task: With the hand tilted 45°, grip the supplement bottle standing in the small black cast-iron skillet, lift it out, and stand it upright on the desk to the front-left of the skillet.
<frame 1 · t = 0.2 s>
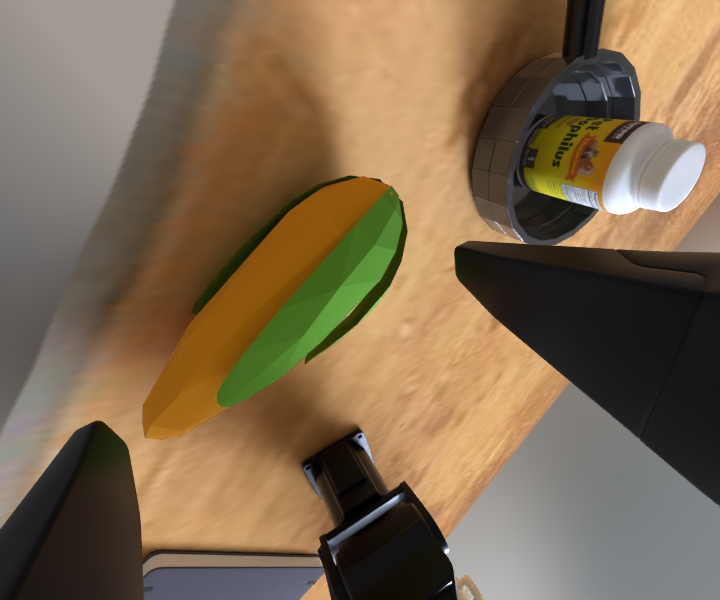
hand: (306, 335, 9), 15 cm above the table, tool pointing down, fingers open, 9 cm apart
character mug: (406, 541, 53), on the table
skillet: (533, 152, 29), on the table
supplement bottle: (535, 152, 29), resting on skillet
notebook: (214, 594, 37), on the table
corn: (259, 290, 24), on the table
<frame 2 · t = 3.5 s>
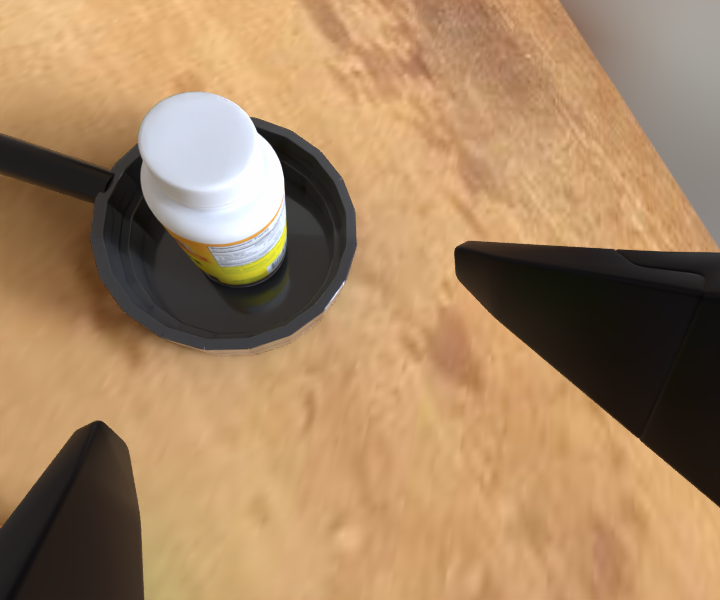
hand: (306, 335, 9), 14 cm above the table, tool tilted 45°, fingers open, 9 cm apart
skillet handle: (18, 159, 19), point 2 cm above the table
skillet: (242, 249, 23), on the table
supplement bottle: (241, 248, 22), resting on skillet
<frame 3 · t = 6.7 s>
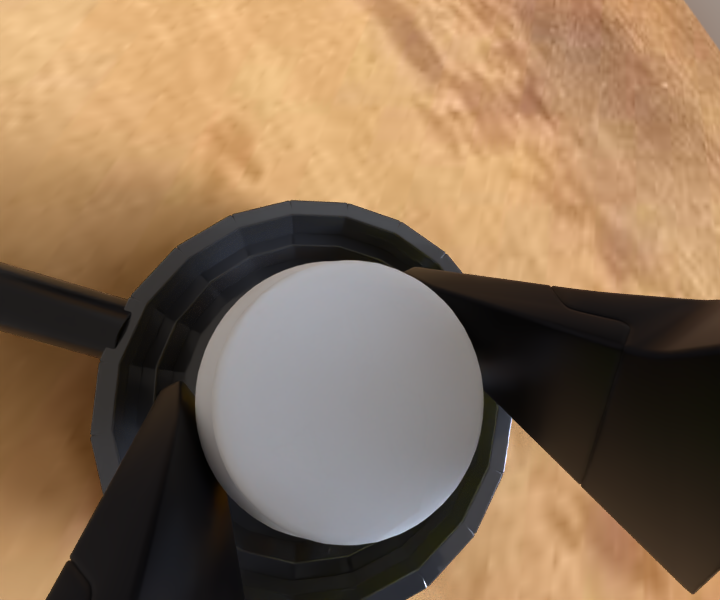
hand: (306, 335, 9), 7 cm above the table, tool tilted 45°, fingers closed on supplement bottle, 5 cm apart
skillet: (316, 387, 15), on the table
supplement bottle: (316, 387, 15), resting on skillet, touching gripper
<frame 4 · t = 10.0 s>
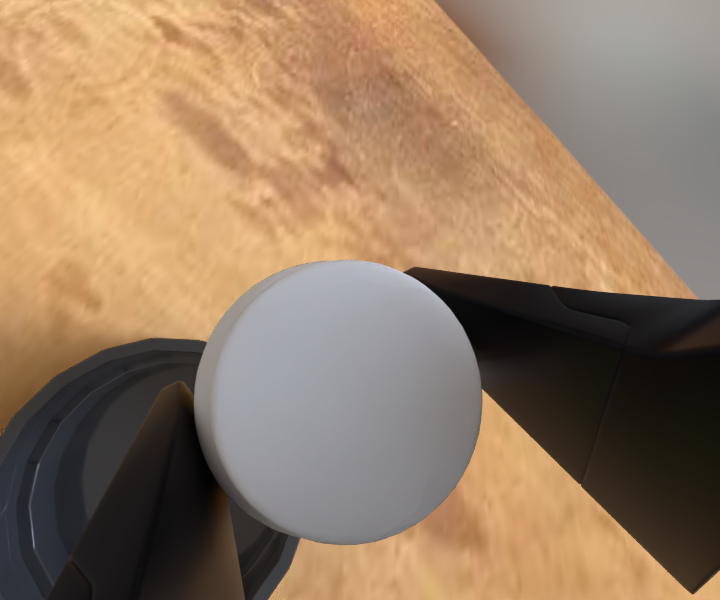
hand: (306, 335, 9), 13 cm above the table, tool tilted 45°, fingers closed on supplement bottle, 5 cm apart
skillet: (180, 472, 19), on the table
supplement bottle: (315, 387, 15), point 6 cm above the table, touching gripper
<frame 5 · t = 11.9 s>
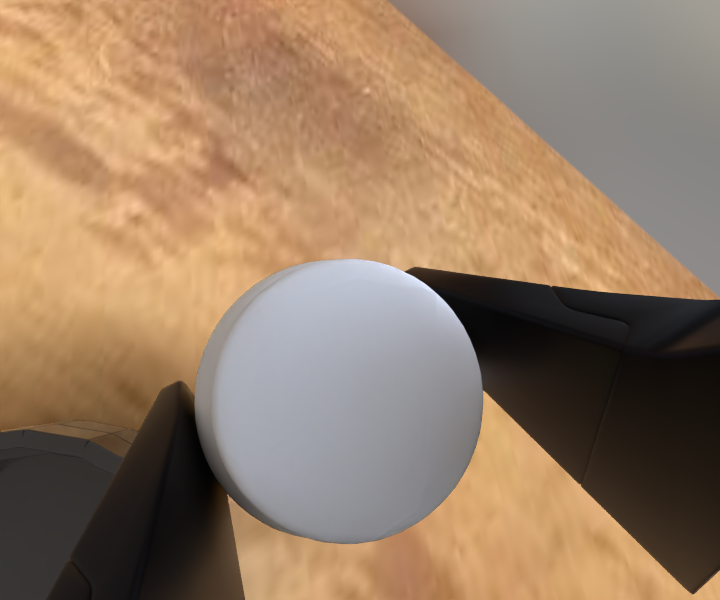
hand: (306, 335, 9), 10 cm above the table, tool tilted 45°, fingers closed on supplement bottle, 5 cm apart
skillet: (50, 593, 14), on the table
supplement bottle: (315, 387, 15), point 3 cm above the table, touching gripper
when the fingers open (7 cm above the table, at t = 13.4 s): supplement bottle stays where it is, on the table.
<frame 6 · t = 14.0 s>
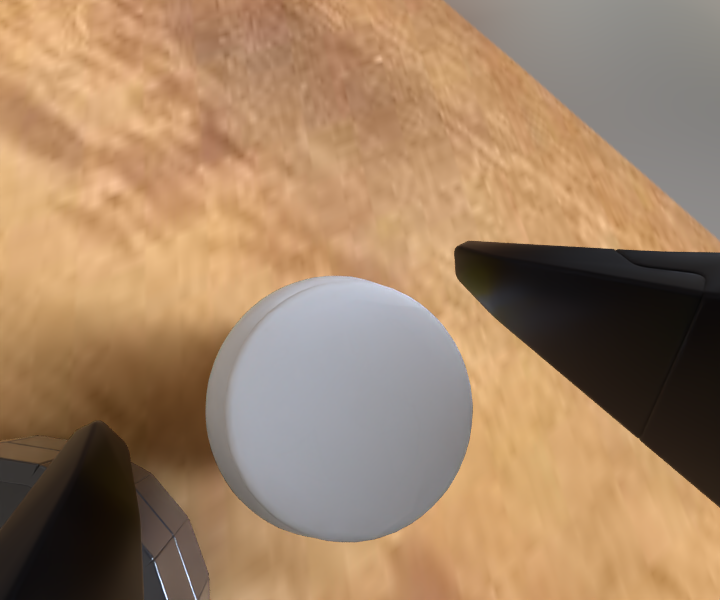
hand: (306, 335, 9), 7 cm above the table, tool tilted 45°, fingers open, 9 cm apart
supplement bottle: (317, 391, 16), on the table
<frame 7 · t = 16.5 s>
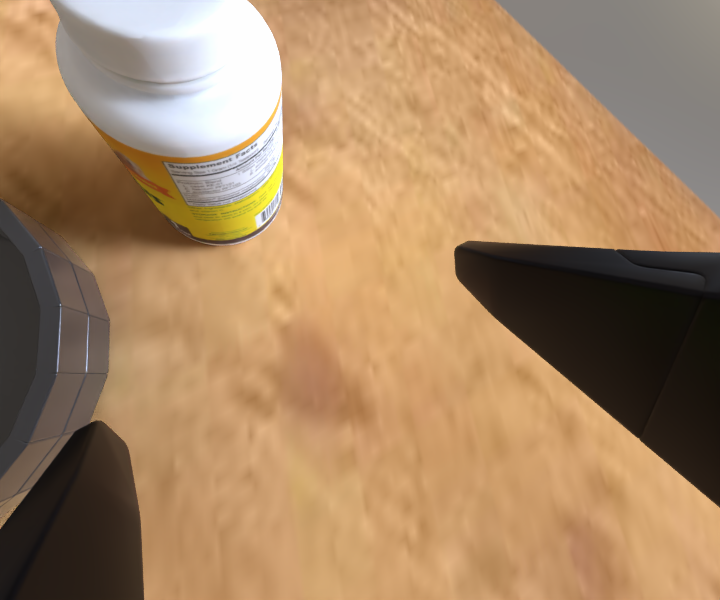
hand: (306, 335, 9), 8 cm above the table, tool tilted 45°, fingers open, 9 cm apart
supplement bottle: (223, 197, 17), on the table
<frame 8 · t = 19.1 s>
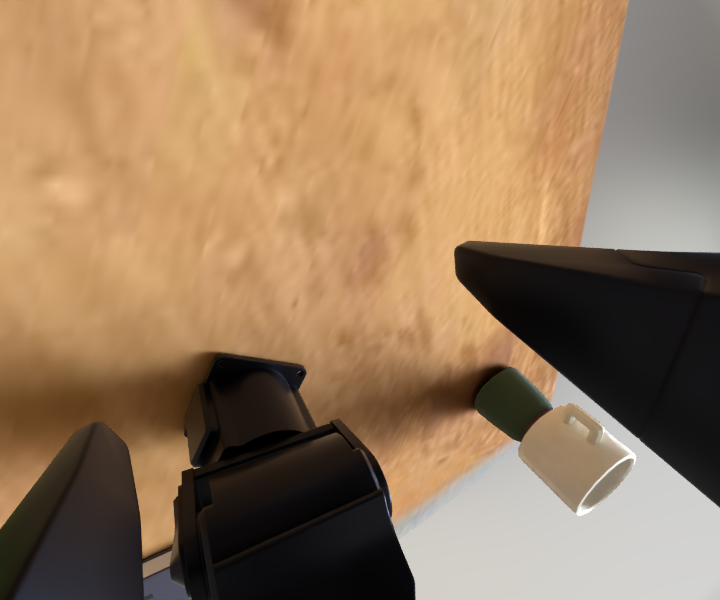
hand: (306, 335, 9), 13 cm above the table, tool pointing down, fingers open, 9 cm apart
character mug: (491, 385, 40), on the table
notebook: (269, 542, 35), on the table
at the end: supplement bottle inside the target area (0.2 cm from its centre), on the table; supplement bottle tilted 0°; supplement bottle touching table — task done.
